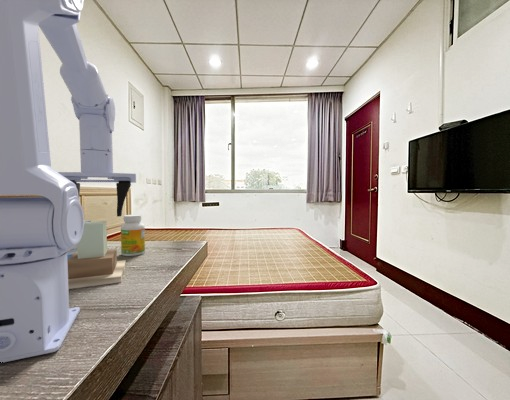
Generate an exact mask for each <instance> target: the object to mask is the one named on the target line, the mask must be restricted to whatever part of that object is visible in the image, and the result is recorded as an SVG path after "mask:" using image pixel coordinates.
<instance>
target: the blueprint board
mask: <svg viewBox="0 0 510 400" xmlns="http://www.w3.org/2000/svg"><path fill="white" fill-rule="evenodd" d="M117 250H118V249H117V248H110V249H107V252H106V254H105V255H104V256H103V257H92V258H82V259H78V253H77V252H76V253H74V254H73V255H72V256H71V257H70V258H69V259H68V260H67V262H68V289H69V290H71V289H72V290H73V289H80V288H86V287H94V286H95V287H96V286H101V285H103V286H104V285H108V284H110V285H111V284H117V283H122V281H123V278H124V274H125V270H126V265H127V260H126V259H123V260H118V254H117V253H118V251H117Z"/></svg>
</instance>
